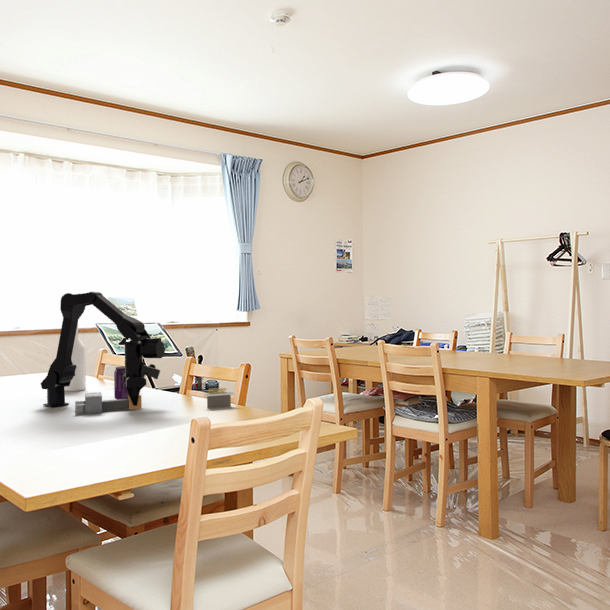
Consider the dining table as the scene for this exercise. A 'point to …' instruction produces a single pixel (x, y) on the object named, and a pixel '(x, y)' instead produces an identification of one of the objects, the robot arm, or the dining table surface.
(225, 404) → the platform
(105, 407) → the plug
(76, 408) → the housing
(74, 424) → the dining table surface
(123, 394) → the beverage can
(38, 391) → the dining table surface
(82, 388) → the bottle
